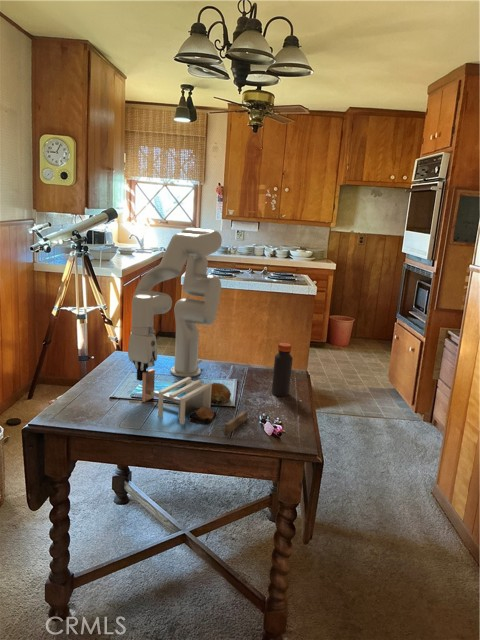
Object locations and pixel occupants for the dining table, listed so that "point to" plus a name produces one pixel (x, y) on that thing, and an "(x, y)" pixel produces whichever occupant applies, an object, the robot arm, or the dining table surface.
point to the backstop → (235, 422)
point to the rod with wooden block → (149, 393)
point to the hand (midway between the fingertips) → (141, 379)
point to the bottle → (282, 370)
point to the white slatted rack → (190, 389)
